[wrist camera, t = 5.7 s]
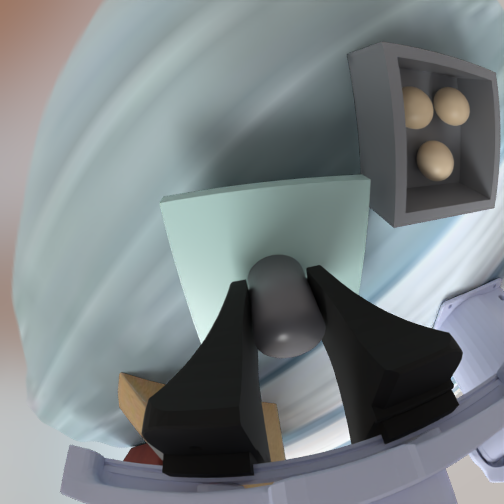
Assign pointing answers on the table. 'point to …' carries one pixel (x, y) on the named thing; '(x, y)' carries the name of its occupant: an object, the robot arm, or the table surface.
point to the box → (425, 132)
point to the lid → (269, 251)
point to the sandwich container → (140, 390)
